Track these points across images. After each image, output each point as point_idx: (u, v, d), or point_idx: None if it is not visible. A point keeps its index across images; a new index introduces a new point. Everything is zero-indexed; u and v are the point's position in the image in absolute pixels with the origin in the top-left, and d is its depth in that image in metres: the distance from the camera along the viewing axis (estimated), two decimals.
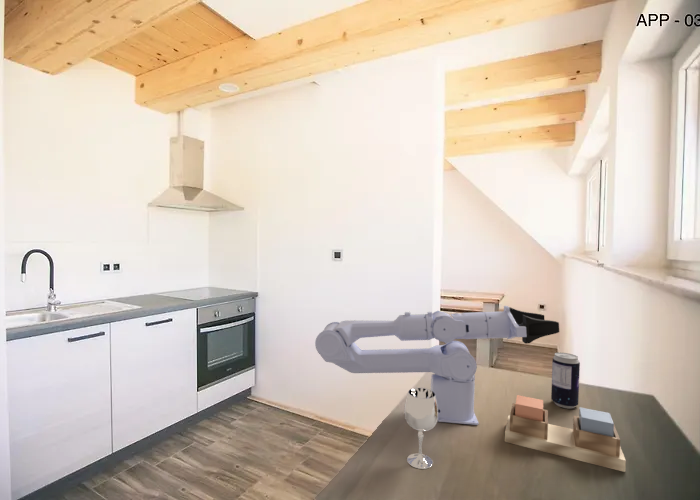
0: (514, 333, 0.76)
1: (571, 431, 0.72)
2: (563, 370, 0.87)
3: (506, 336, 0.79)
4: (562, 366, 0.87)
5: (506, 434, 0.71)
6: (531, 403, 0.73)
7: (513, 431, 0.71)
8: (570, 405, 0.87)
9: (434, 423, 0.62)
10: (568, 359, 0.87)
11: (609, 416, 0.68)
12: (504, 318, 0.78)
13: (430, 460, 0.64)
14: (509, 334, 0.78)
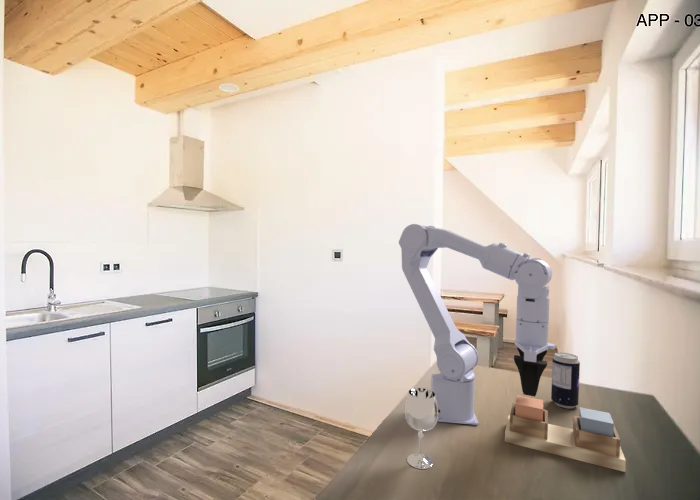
0: (525, 348, 0.69)
1: (571, 431, 0.72)
2: (563, 370, 0.87)
3: (519, 340, 0.72)
4: (562, 366, 0.87)
5: (506, 434, 0.71)
6: (531, 403, 0.73)
7: (513, 431, 0.71)
8: (570, 405, 0.87)
9: (434, 423, 0.62)
10: (568, 359, 0.87)
11: (609, 416, 0.68)
12: (541, 342, 0.70)
13: (430, 460, 0.64)
14: (522, 343, 0.72)
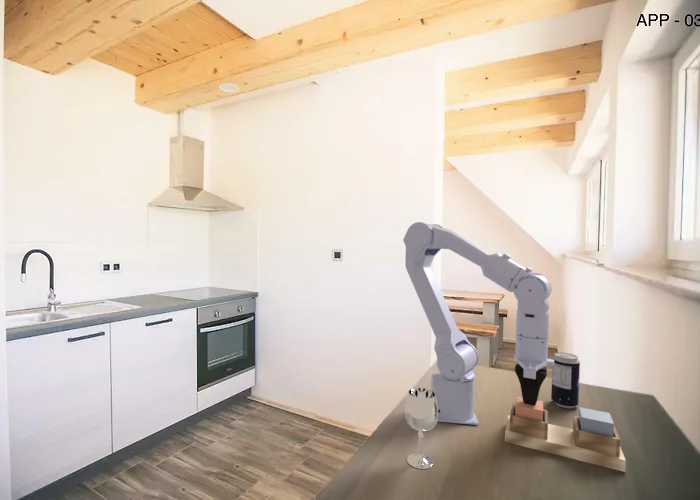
0: (525, 365, 0.69)
1: (571, 431, 0.72)
2: (563, 370, 0.87)
3: (518, 355, 0.72)
4: (562, 366, 0.87)
5: (506, 434, 0.71)
6: None
7: (513, 431, 0.71)
8: (570, 405, 0.87)
9: (434, 423, 0.62)
10: (568, 359, 0.87)
11: (609, 416, 0.68)
12: (541, 358, 0.70)
13: (430, 460, 0.64)
14: (521, 359, 0.72)
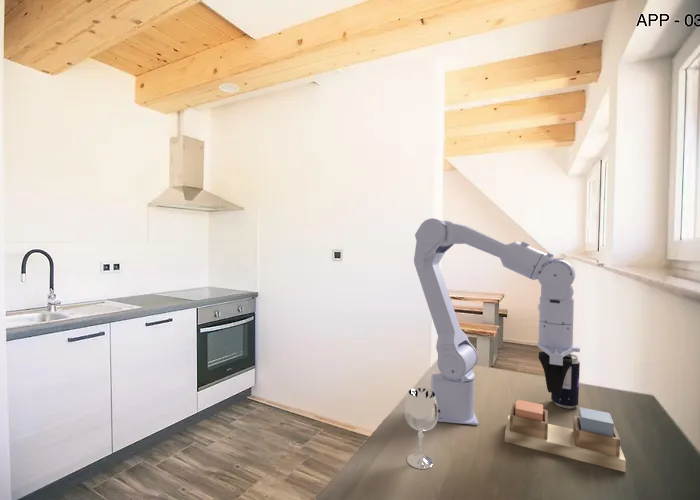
0: (550, 351, 0.67)
1: (571, 431, 0.72)
2: None
3: (542, 342, 0.70)
4: None
5: (506, 434, 0.71)
6: (531, 407, 0.73)
7: (513, 431, 0.71)
8: (570, 405, 0.87)
9: (434, 423, 0.62)
10: None
11: (609, 416, 0.68)
12: (566, 344, 0.68)
13: (430, 460, 0.64)
14: (546, 346, 0.70)
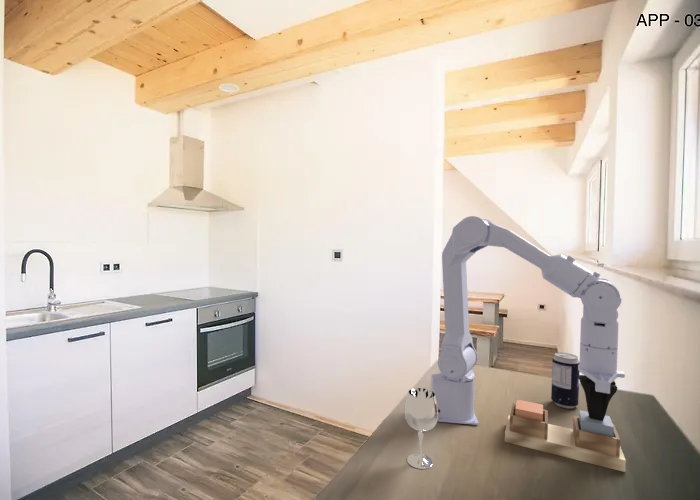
0: (595, 377, 0.64)
1: (571, 431, 0.72)
2: (563, 370, 0.87)
3: (584, 366, 0.67)
4: (562, 366, 0.87)
5: (506, 434, 0.71)
6: (531, 407, 0.73)
7: (513, 431, 0.71)
8: (570, 405, 0.87)
9: (434, 423, 0.62)
10: (568, 359, 0.87)
11: (609, 419, 0.68)
12: (611, 369, 0.65)
13: (430, 460, 0.64)
14: (588, 370, 0.66)
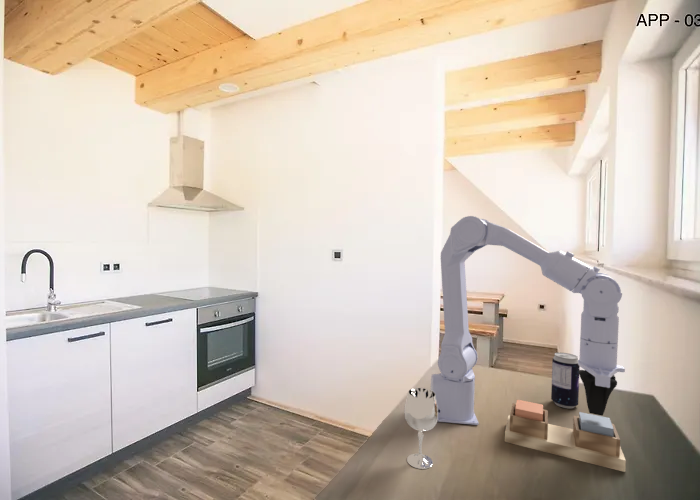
0: (595, 372, 0.64)
1: (571, 431, 0.72)
2: (563, 370, 0.87)
3: (584, 361, 0.67)
4: (562, 366, 0.87)
5: (506, 434, 0.71)
6: (531, 407, 0.73)
7: (513, 431, 0.71)
8: (570, 405, 0.87)
9: (434, 423, 0.62)
10: (568, 359, 0.87)
11: (609, 421, 0.68)
12: (611, 364, 0.65)
13: (430, 460, 0.64)
14: (588, 365, 0.66)
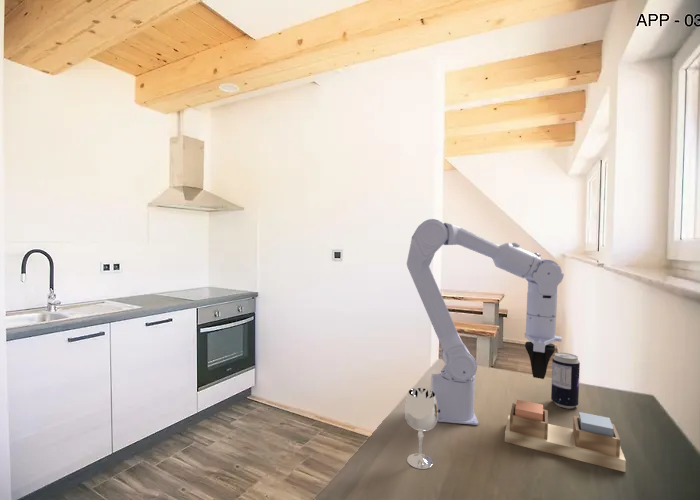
0: (535, 340, 0.76)
1: (571, 431, 0.72)
2: (563, 370, 0.87)
3: (528, 332, 0.79)
4: (562, 366, 0.87)
5: (506, 434, 0.71)
6: (531, 407, 0.73)
7: (513, 431, 0.71)
8: (570, 405, 0.87)
9: (434, 423, 0.62)
10: (568, 359, 0.87)
11: (609, 421, 0.68)
12: (550, 334, 0.77)
13: (430, 460, 0.64)
14: (531, 336, 0.78)
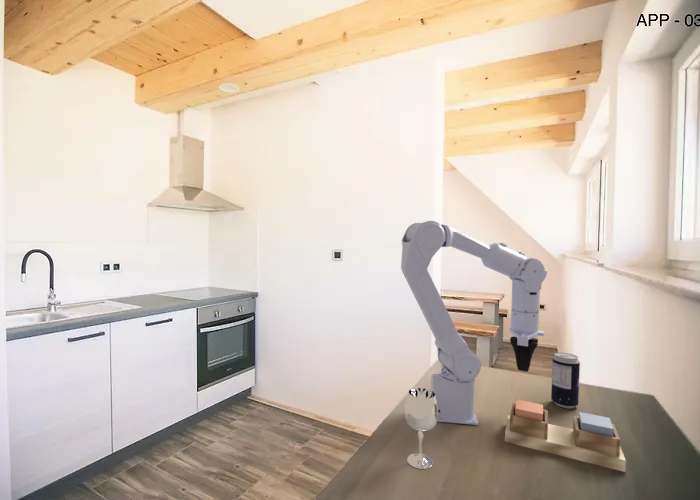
0: (519, 335, 0.80)
1: (571, 431, 0.72)
2: (563, 370, 0.87)
3: (513, 328, 0.83)
4: (562, 366, 0.87)
5: (506, 434, 0.71)
6: (531, 407, 0.73)
7: (513, 431, 0.71)
8: (570, 405, 0.87)
9: (434, 423, 0.62)
10: (568, 359, 0.87)
11: (609, 421, 0.68)
12: (533, 329, 0.81)
13: (430, 460, 0.64)
14: (516, 330, 0.82)
